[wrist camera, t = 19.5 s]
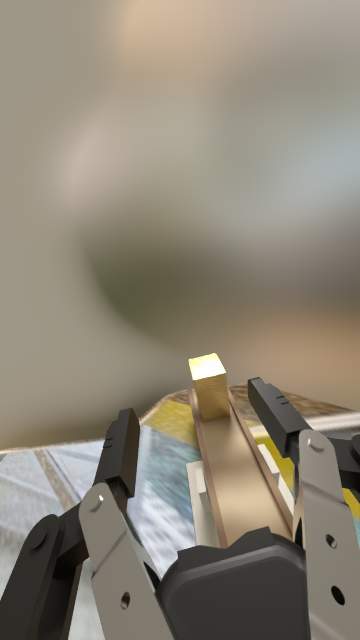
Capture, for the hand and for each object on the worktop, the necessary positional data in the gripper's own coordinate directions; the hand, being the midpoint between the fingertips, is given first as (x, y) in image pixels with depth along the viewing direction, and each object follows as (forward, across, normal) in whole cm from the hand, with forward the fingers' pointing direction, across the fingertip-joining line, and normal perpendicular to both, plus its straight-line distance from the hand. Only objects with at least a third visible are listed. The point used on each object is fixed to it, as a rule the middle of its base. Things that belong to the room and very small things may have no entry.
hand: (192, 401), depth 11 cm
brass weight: (+13, -4, +19) cm, 23 cm away
